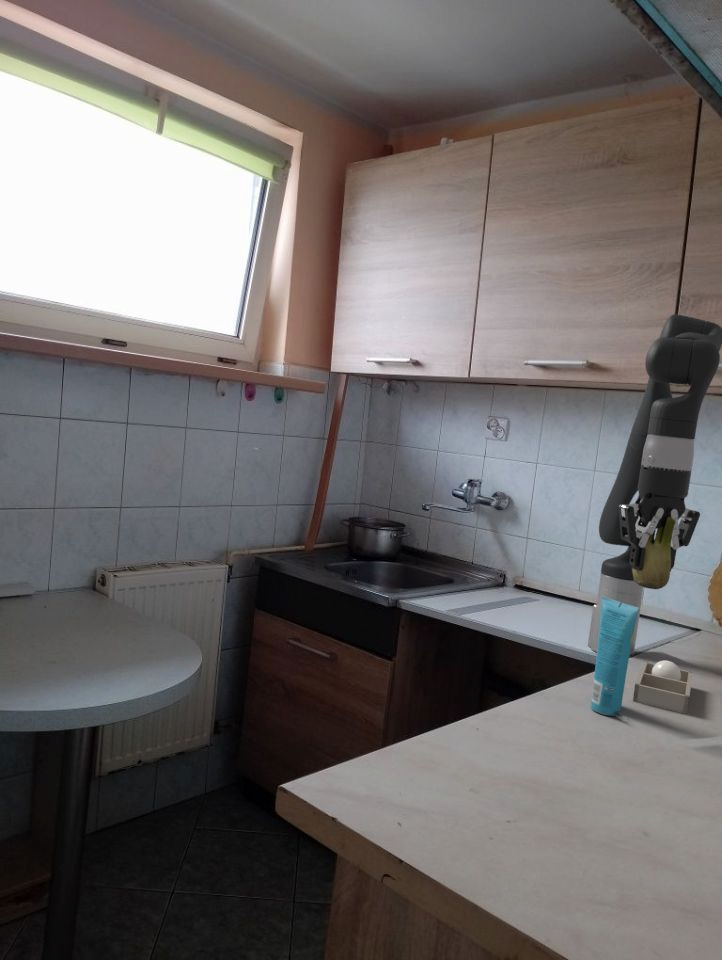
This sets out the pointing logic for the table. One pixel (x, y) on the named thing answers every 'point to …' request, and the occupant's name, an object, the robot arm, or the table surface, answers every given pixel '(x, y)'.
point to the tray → (663, 690)
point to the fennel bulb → (656, 558)
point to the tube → (612, 655)
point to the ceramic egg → (666, 670)
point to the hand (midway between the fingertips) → (650, 569)
